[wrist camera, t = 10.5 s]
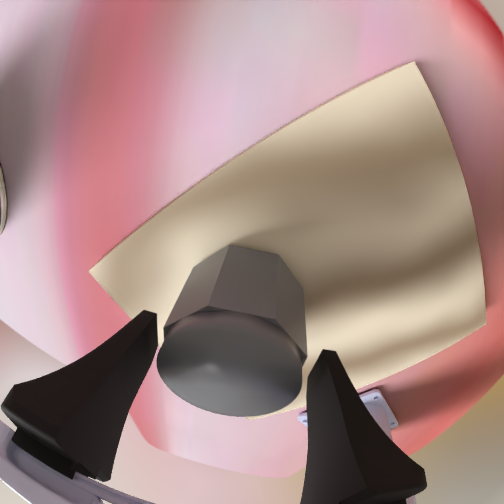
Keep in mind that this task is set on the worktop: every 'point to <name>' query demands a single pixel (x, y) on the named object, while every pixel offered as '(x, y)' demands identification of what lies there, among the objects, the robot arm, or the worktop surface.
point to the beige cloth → (333, 230)
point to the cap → (236, 335)
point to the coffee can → (2, 202)
